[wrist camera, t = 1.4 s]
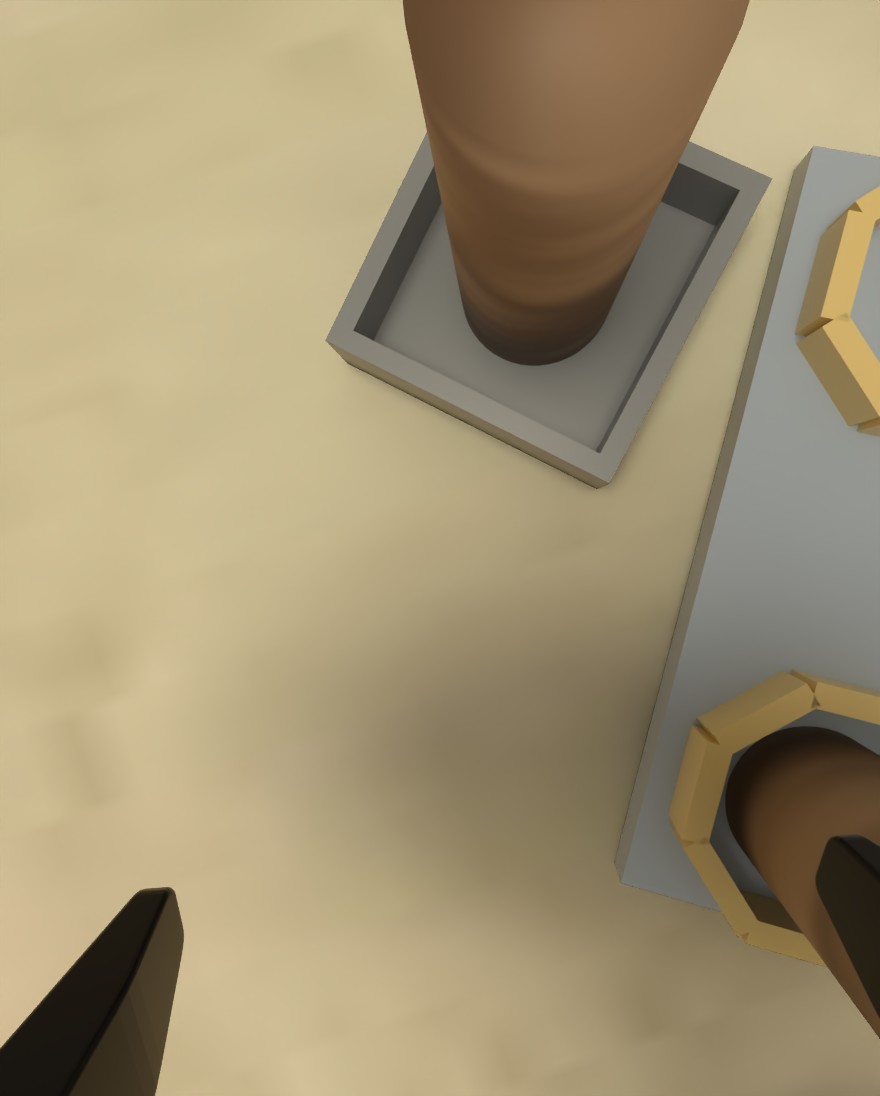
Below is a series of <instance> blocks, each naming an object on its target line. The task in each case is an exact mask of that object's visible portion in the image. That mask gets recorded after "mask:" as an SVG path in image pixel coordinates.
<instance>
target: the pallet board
mask: <svg viewBox="0 0 880 1096" xmlns="http://www.w3.org/2000/svg"><path fill="white" fill-rule="evenodd" d="M801 726H812V727H821V728H827V729H830V730H834V731H837V732H839V733H842V734H844V735H846V736H848V737H850V738H852V739H853V740H855V741H857V742H858V743H860V744H862V745H863V746H865V747H866V748H868V749H870V750H871V751H873V752H875V753H876V754H878V755H880V157H877V156H871V155H865V154H859V153H853V152H847V151H841V150H835V149H829V148H823V147H817V146H813V147H812V149H811V150H810V151H809V152H808V154H807V155H806V156H805V157H804V159H803V160H802V161H801V162H800V164H799V165H798V166H797V167H796V169H795V170H794V174H793V178H792V181H791V185H790V189H789V193H788V197H787V201H786V204H785V208H784V212H783V216H782V220H781V224H780V227H779V231H778V235H777V239H776V243H775V247H774V251H773V254H772V258H771V262H770V266H769V270H768V274H767V277H766V281H765V285H764V289H763V293H762V297H761V301H760V304H759V308H758V312H757V316H756V320H755V324H754V327H753V331H752V335H751V339H750V343H749V347H748V351H747V354H746V358H745V362H744V366H743V370H742V374H741V377H740V381H739V385H738V389H737V393H736V397H735V401H734V404H733V408H732V412H731V416H730V420H729V424H728V427H727V431H726V435H725V439H724V443H723V447H722V451H721V454H720V458H719V462H718V466H717V470H716V474H715V477H714V481H713V485H712V489H711V493H710V497H709V500H708V504H707V508H706V512H705V516H704V520H703V524H702V527H701V531H700V535H699V539H698V543H697V547H696V550H695V554H694V558H693V562H692V566H691V570H690V574H689V577H688V581H687V585H686V589H685V593H684V597H683V600H682V604H681V608H680V612H679V616H678V620H677V624H676V627H675V631H674V635H673V639H672V643H671V647H670V650H669V654H668V658H667V662H666V666H665V670H664V674H663V677H662V681H661V685H660V689H659V693H658V697H657V700H656V704H655V708H654V712H653V716H652V720H651V724H650V727H649V731H648V735H647V739H646V743H645V747H644V750H643V754H642V758H641V762H640V766H639V770H638V773H637V777H636V781H635V785H634V789H633V793H632V797H631V800H630V804H629V808H628V812H627V816H626V820H625V823H624V827H623V831H622V835H621V839H620V843H619V847H618V850H617V854H616V858H615V866H616V869H617V872H618V875H619V878H620V881H621V883H622V884H626V885H629V886H632V887H636V888H639V889H643V890H646V891H650V892H653V893H657V894H660V895H664V896H667V897H671V898H674V899H678V900H681V901H685V902H688V903H691V904H695V905H698V906H702V907H705V908H709V909H712V910H716V911H719V912H722V913H723V914H724V916H725V918H726V919H727V921H728V922H729V924H730V926H731V927H732V929H733V931H734V932H735V934H736V936H737V937H739V936H742V938H743V939H744V941H745V943H746V944H749V945H753V946H756V947H759V948H763V949H766V950H770V951H773V952H777V953H780V954H783V955H787V956H790V957H794V958H797V959H801V960H804V961H807V962H811V963H814V964H818V965H821V966H824V967H827V966H826V964H825V963H824V961H823V960H822V959H821V957H820V956H819V955H818V953H817V952H816V950H815V949H814V948H813V946H812V945H811V944H810V942H809V941H808V939H807V938H806V937H805V935H804V934H803V933H802V931H801V930H800V928H799V927H798V926H797V924H796V923H795V922H794V920H793V919H792V917H791V916H790V915H789V913H788V912H787V911H786V909H785V908H784V907H783V905H782V904H781V902H780V901H779V900H778V898H777V897H776V896H775V894H774V893H773V891H772V890H771V889H770V887H769V886H768V885H767V883H766V882H765V880H764V879H763V878H762V876H761V875H760V874H759V872H758V871H757V869H756V868H755V867H754V865H753V864H752V863H751V861H750V860H749V858H748V857H747V856H746V854H745V853H744V852H743V850H742V849H741V848H740V846H739V845H738V843H737V842H736V840H735V838H734V836H733V834H732V832H731V829H730V827H729V824H728V820H727V816H726V808H725V796H726V789H727V784H728V781H729V778H730V775H731V773H732V771H733V769H734V767H735V765H736V763H737V762H738V760H739V759H740V757H741V756H742V755H743V754H744V753H745V752H746V751H747V750H748V749H749V748H750V747H751V746H752V745H753V744H754V743H756V742H757V741H759V740H760V739H762V738H763V737H765V736H767V735H769V734H772V733H774V732H777V731H780V730H783V729H787V728H792V727H801Z"/></svg>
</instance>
